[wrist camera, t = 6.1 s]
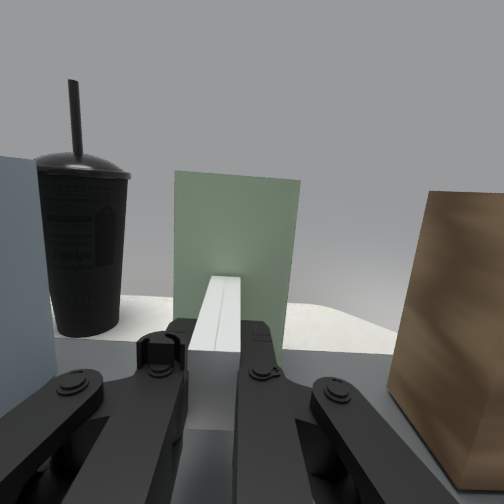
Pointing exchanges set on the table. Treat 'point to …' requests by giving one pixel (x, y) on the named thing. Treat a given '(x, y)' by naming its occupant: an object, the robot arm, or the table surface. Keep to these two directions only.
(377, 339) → the table surface
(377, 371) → the grey flat board
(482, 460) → the brown wooden block
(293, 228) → the pale green block
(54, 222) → the drinking cup
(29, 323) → the blue-grey tall block
